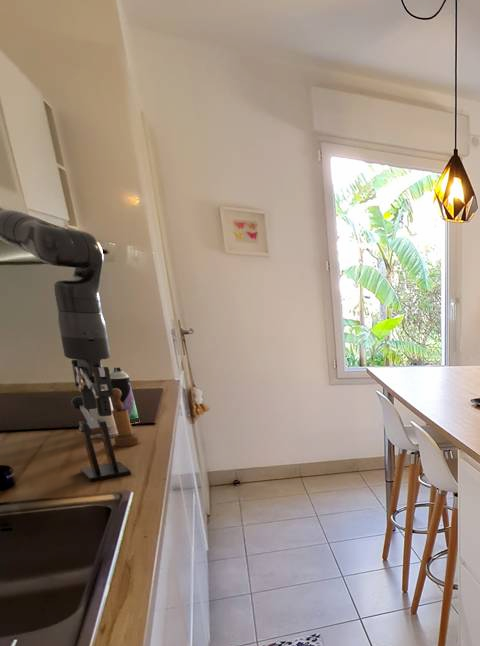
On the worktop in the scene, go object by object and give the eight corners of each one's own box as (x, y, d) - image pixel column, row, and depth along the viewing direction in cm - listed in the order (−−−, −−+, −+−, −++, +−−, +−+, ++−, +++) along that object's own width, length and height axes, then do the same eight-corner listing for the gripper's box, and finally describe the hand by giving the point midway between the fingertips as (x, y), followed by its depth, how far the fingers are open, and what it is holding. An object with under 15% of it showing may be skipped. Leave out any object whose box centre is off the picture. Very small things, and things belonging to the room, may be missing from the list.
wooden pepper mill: (112, 444, 176) (97, 388, 170) (135, 439, 181) (122, 385, 175) (120, 448, 173) (106, 391, 166) (144, 443, 178) (130, 388, 171)
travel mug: (114, 438, 182) (99, 378, 174) (92, 438, 181) (75, 378, 173) (124, 433, 187) (110, 374, 180) (103, 433, 186) (87, 374, 179)
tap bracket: (81, 472, 152) (66, 420, 146) (120, 465, 158) (107, 415, 153) (91, 482, 145) (75, 428, 140) (131, 474, 151) (118, 422, 146)
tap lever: (70, 405, 151) (68, 394, 149) (86, 403, 154) (85, 392, 152) (88, 437, 146) (86, 427, 144) (104, 435, 149) (103, 424, 146)
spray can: (123, 425, 197) (109, 369, 190) (119, 422, 201) (105, 367, 193) (141, 422, 201) (128, 367, 194) (137, 420, 204) (124, 365, 197)
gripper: (50, 331, 114) (65, 408, 119) (73, 337, 106) (88, 420, 111) (94, 331, 120) (106, 405, 125) (119, 338, 112) (131, 416, 117)
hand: (98, 412), depth 118 cm, fingers open, 8 cm apart
